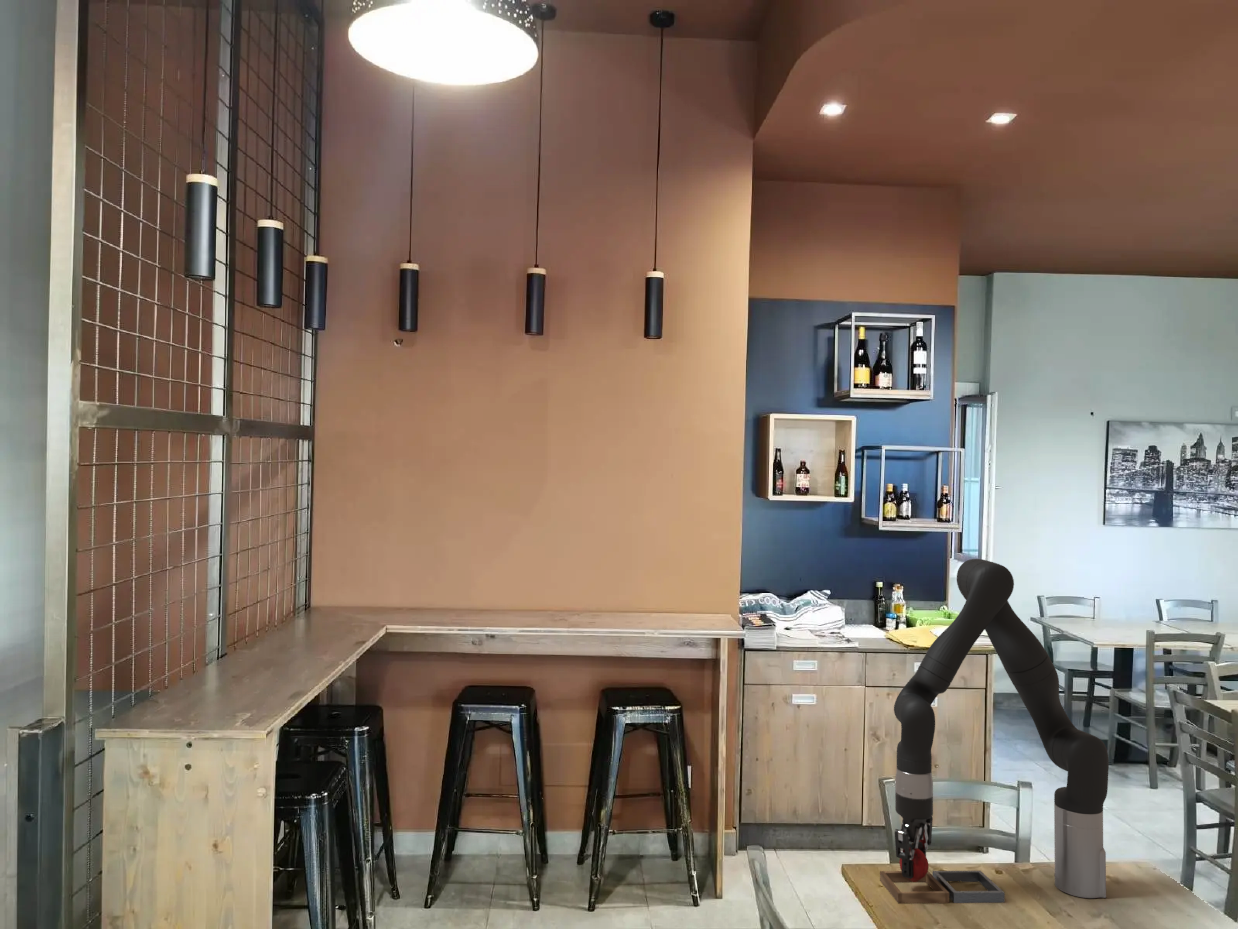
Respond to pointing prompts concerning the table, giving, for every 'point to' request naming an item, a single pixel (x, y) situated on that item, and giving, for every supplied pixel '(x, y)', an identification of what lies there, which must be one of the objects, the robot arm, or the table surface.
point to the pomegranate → (918, 865)
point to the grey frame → (988, 896)
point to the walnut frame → (914, 896)
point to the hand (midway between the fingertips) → (914, 872)
